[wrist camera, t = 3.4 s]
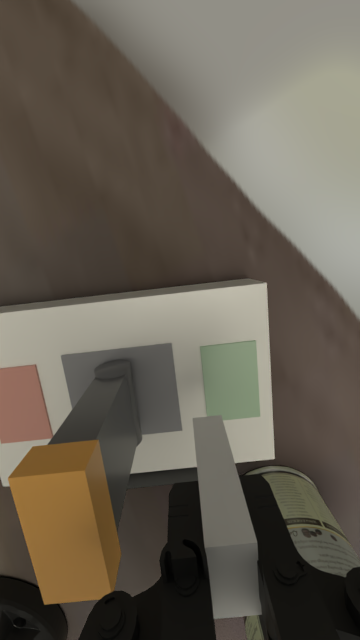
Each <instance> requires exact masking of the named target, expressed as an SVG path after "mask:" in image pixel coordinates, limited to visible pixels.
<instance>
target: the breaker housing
mask: <svg viewBox="0 0 360 640" xmlns="http://www.w3.org/2000/svg"><path fill="white" fill-rule="evenodd" d="M116 360H126V361H129V362H130V363H131V369H132V375H133V382H134V388H135V394H136V400H137V407H138V413H139V419H140V425H141V431H142V441H141V443H140V444H139V445H138V446H137V447H136V450H135V455H134V459H133V464H132V468H131V473H130V474H132V473H142V472H152V471H162V470H171V469H181V468H191V467H197V461H196V451H195V440H194V429H193V419H192V418H197V417H206V416H216V415H221V416H222V419H223V423H224V426H225V430H226V433H227V437H228V440H229V444H230V448H231V451H232V455H233V458H234V462H235V463H240V462H250V461H260V460H270V459H275V454H274V432H273V410H272V388H271V367H270V345H269V323H268V301H267V283H265V282H261V281H257V280H253V279H249V278H246V279H238V280H229V281H220V282H211V283H203V284H194V285H185V286H176V287H168V288H159V289H150V290H141V291H133V292H124V293H115V294H106V295H98V296H89V297H80V298H71V299H63V300H54V301H45V302H36V303H28V304H19V305H10V306H1V307H0V478H1V482H2V485H3V487H5V486H10V485H9V481H8V477H9V476H10V475H11V473H12V472H13V471H14V470H15V468H16V467H17V466H18V464H19V463H20V462H21V461H22V459H23V458H24V457H25V455H26V454H27V453H28V452H29V450H30V449H31V448H32V447H33V446H41V445H47V444H48V443H49V442H50V440H51V439H52V437H53V436H54V435H55V433H56V432H57V430H58V429H59V427H60V426H61V425H62V423H63V422H64V420H65V419H66V418H67V416H68V415H69V413H70V412H71V411H72V409H73V408H74V406H75V405H76V404H77V402H78V401H79V399H80V398H81V397H82V395H83V394H84V392H85V391H86V389H87V388H88V387H89V385H90V384H91V382H92V381H93V380H94V378H95V374H94V369H95V368H96V367H97V366H99V365H101V364H103V363H106V362H110V361H116Z"/></svg>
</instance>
